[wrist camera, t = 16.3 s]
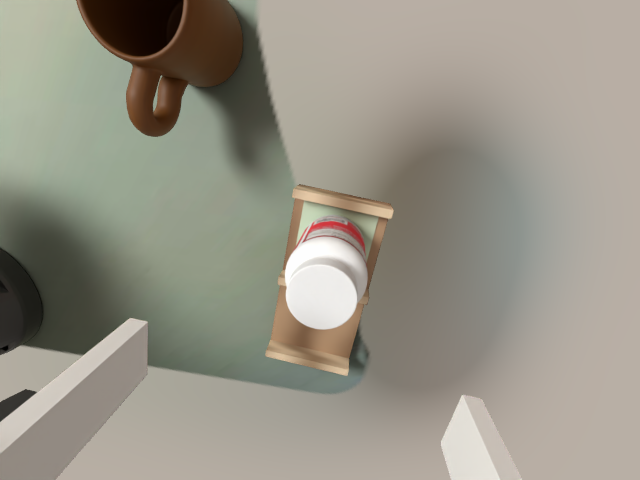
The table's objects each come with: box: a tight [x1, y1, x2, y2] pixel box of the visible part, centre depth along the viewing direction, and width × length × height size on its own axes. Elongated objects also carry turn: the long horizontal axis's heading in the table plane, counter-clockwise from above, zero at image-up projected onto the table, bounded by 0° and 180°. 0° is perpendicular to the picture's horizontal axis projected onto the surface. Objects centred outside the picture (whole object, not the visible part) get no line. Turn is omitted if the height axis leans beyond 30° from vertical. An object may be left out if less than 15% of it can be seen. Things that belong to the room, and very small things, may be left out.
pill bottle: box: [285, 215, 368, 330], centre depth 25 cm, size 6×6×11 cm
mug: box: [76, 0, 243, 137], centre depth 23 cm, size 12×8×9 cm, turn 168°
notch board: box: [265, 184, 394, 376], centre depth 31 cm, size 9×18×3 cm, turn 169°
